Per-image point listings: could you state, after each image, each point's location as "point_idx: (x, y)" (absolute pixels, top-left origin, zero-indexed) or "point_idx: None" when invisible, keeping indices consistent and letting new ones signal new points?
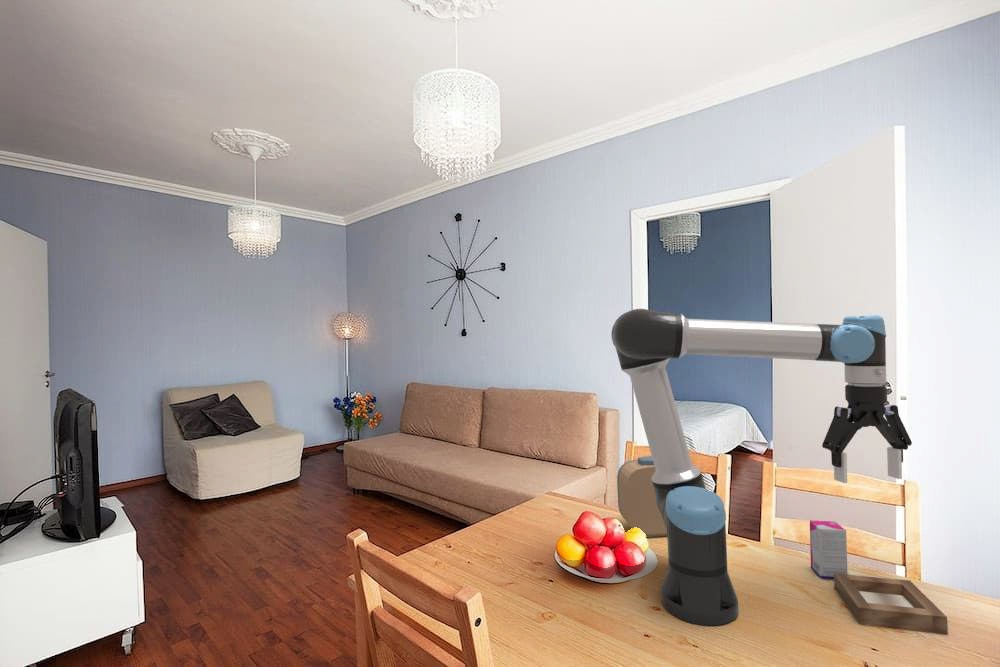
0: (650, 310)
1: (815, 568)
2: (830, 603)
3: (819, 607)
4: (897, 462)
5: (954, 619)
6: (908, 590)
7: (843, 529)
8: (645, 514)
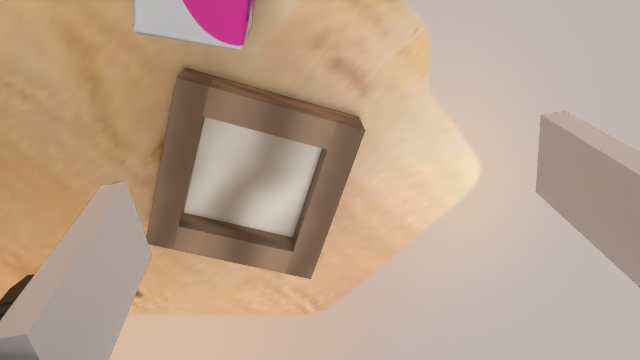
0: None
1: None
2: (133, 142)
3: (96, 158)
4: (602, 247)
5: (368, 212)
6: (319, 178)
7: (235, 42)
8: None
